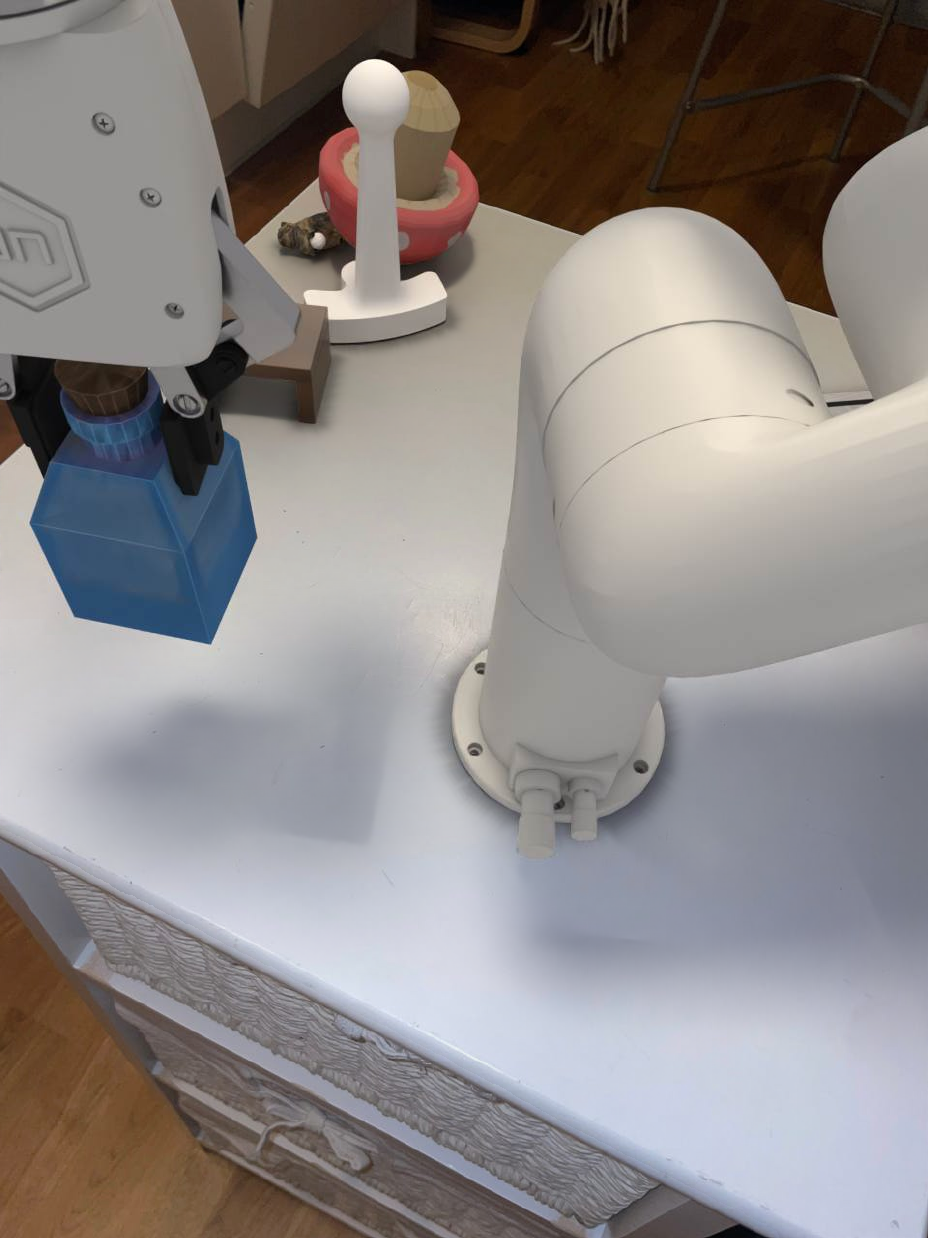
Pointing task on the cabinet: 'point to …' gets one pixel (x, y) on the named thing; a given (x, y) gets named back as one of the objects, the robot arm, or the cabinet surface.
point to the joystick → (378, 224)
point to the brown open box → (299, 359)
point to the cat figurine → (310, 234)
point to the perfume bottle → (138, 512)
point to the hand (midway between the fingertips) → (132, 459)
